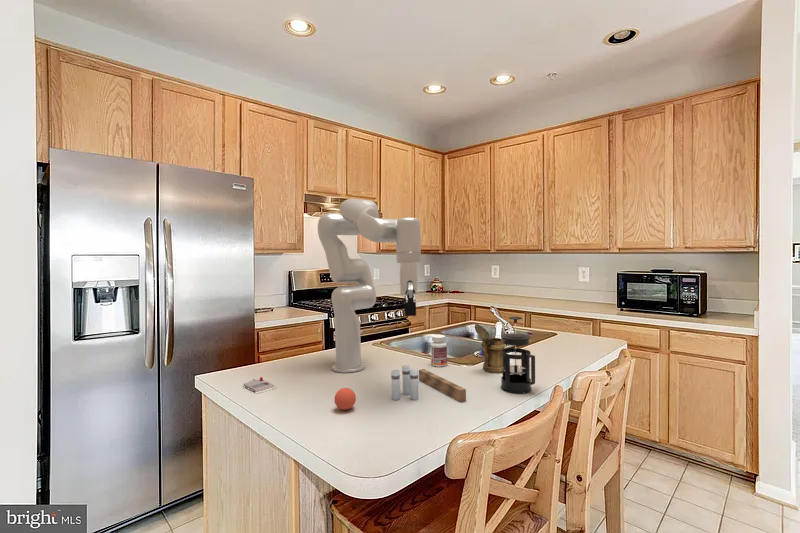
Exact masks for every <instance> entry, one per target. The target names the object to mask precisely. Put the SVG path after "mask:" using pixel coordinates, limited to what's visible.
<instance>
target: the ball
mask: <svg viewBox="0 0 800 533" xmlns="http://www.w3.org/2000/svg"><path fill="white" fill-rule="evenodd" d="M356 397H357V396H356V393H355V392H354V390H352V389H351V388H349V387H342V388H340V389H338V390H337V391H336V393H335V395H334V400H333V401H334V404H335V407H337V408H338V409H340V410H341V411H348V410H350V409H351V408H353V407H354V405H355V404H356V401H357V398H356Z"/></svg>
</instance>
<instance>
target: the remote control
mask: <svg viewBox="0 0 800 533" xmlns="http://www.w3.org/2000/svg"><path fill="white" fill-rule="evenodd" d="M244 386H245V387H247V388H249V389H251V390H253V391H255V392H259V391H263V390H266V389H269V388H273V387H276V386H275V385H274V383H271V382H269V381H268V380H265V379H263V377H262V376H260V377H259V379H254V378H252V380H251V381H246V382H244V383H243V387H244ZM245 387H244V388H245ZM247 388H246V389H247ZM249 389H248V390H249ZM251 390H250V391H251Z"/></svg>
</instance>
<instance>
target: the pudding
mask: <svg viewBox="0 0 800 533" xmlns="http://www.w3.org/2000/svg"><path fill="white" fill-rule="evenodd" d="M477 353H479V354H478V356H477V355H476V354H477ZM473 354H474V356H477V357H479V358H481V357H483V356H484V355H483V353H482V343H480V347H479V350H478V351H475V352H474V353H473ZM479 355H482V356H479Z"/></svg>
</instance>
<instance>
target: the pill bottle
mask: <svg viewBox="0 0 800 533" xmlns="http://www.w3.org/2000/svg"><path fill="white" fill-rule="evenodd" d="M447 346H448V344H447V342H446V335H443V334H433V335H431V343H430V356H431V357H430V359H431V360H430V362H431V366H432V367H435V366H436V367H437V368H438V367H439V368H440V367H442V366H443V367H446V366H448V347H447Z"/></svg>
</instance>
